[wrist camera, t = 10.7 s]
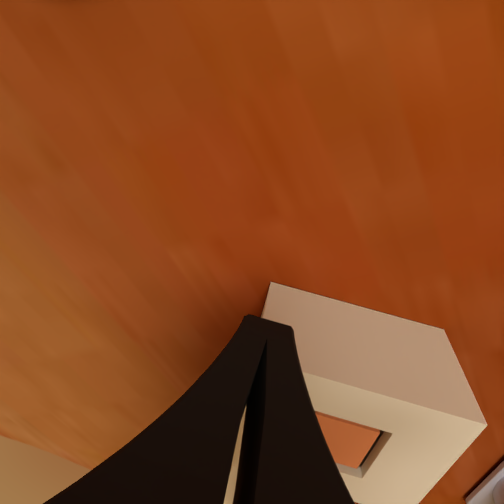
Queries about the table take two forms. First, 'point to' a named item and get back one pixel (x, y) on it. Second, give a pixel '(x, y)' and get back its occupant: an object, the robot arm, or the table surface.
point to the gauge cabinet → (381, 391)
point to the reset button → (347, 439)
